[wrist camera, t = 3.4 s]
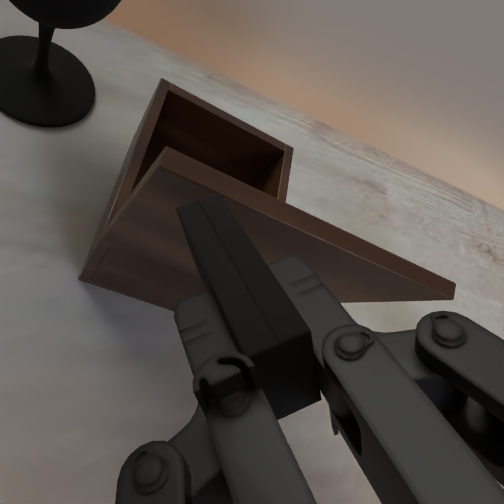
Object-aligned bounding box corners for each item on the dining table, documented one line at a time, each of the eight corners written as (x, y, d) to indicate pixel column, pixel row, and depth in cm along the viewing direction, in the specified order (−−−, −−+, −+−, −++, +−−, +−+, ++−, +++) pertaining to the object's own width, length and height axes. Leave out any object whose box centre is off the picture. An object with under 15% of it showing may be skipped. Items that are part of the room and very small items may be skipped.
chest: (132, 138, 45) (161, 77, 38) (248, 192, 50) (293, 147, 43) (77, 279, 38) (100, 237, 30) (221, 327, 43) (270, 301, 35)
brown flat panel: (165, 144, 14) (157, 166, 14) (457, 283, 19) (454, 300, 19) (103, 229, 30) (99, 240, 30) (275, 295, 35) (272, 304, 35)
